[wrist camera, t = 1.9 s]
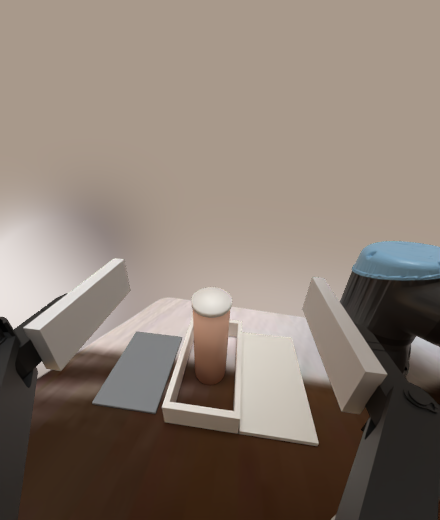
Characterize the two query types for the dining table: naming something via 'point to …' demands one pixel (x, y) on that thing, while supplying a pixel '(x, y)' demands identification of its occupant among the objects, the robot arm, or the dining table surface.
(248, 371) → the white holder tray
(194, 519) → the dining table surface
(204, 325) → the tube
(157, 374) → the felt mat
